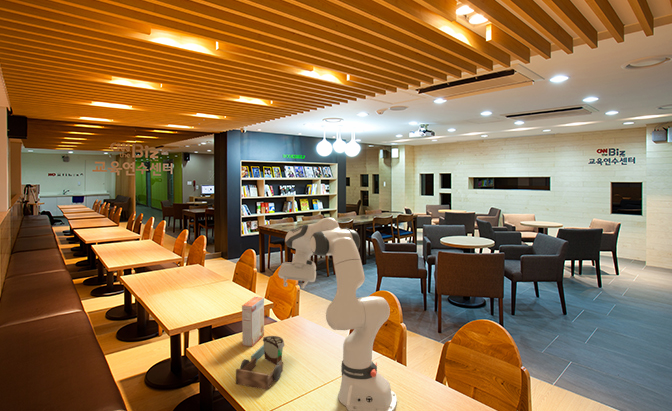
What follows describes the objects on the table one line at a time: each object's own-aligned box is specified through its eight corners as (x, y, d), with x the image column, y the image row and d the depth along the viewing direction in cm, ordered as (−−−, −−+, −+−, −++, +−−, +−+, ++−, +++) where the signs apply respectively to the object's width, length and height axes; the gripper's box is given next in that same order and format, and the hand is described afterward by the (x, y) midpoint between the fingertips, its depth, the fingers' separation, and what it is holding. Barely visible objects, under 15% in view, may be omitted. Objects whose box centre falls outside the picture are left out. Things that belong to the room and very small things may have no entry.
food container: (289, 362, 165) (289, 341, 164) (279, 367, 160) (279, 345, 160) (273, 353, 173) (273, 333, 172) (262, 357, 169) (262, 336, 168)
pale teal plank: (265, 350, 175) (265, 342, 175) (267, 351, 175) (267, 343, 175) (251, 364, 162) (251, 356, 162) (253, 365, 162) (253, 356, 161)
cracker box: (254, 334, 194) (254, 296, 193) (264, 335, 193) (264, 297, 191) (241, 345, 180) (241, 304, 179) (252, 347, 179) (252, 306, 178)
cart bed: (285, 371, 157) (285, 358, 156) (269, 390, 142) (269, 376, 142) (251, 365, 161) (251, 352, 161) (233, 383, 147) (233, 369, 146)
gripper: (280, 258, 195) (273, 282, 187) (317, 262, 190) (310, 287, 182) (283, 264, 200) (276, 287, 192) (319, 268, 195) (313, 292, 187)
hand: (293, 287), depth 187 cm, fingers open, 8 cm apart
